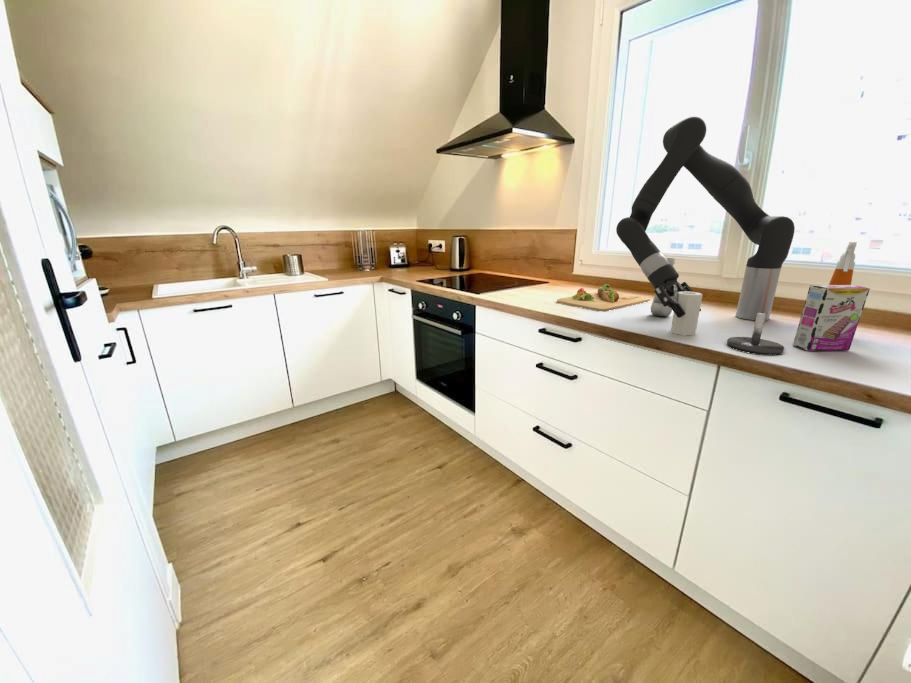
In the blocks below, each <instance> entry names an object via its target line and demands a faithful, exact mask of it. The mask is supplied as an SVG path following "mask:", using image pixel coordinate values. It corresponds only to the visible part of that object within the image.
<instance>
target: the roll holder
mask: <svg viewBox="0 0 911 683" xmlns="http://www.w3.org/2000/svg"><path fill="white" fill-rule="evenodd" d="M765 317H766V314H765V313H757V317H756V320H755V322H754V326H753V331H752V335H751V337H749V336H732V337H728V338H727V339H726V343H727V345H728V346H727V345H726V346H727V347H729V348H730V347H731V349H733V348H734V349H733V350H735V349H737V350H736V351H739V350H740V351H739V352H742V351H744V352H743V353H747V352H749V353H748V354H752V353H755V354H754V355H760V354H763V355H762V356H779V354H780V355H782V354H784V350H785V346H784V345H783V344H781V343H778V342H775V341H772V340H768V339H763V338H762V334H763V329H764V325H765V321H766V320H765Z"/></svg>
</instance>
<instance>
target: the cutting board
mask: <svg viewBox="0 0 911 683" xmlns="http://www.w3.org/2000/svg"><path fill="white" fill-rule="evenodd" d="M648 301H651V298H650V297H647V296H642V295H637V294H636V295H635V294H628V293H621V292H617V291H616V290H614V289H612V287H611V285H610V284H607V283H605V284H603V285H601V286H600V287H599V288H598V289H597V291H596V292H587V291H586V290H585V289H584V288H583V287H581V288H579V289H577V291H576V294H575V295H572V296H567V297H561V298H558V299H556V304H559V303H563V304H562V305H564V304H567V305H566V306H569V305H572V306H571V307H574V306H577V307H576V308H579V307H582V308H581V309H584V308H586V310H589V309H591V311H594V310H596V311H595V312H599V311H602V312H610V311H609V310H611V311H614V309H615V310H619V309H623V308H627V306H628V307H632V305H633V306H636V304H637V305H640V303H641V304H645V303H644V302H646V303H649V302H648Z"/></svg>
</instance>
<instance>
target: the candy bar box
mask: <svg viewBox="0 0 911 683" xmlns="http://www.w3.org/2000/svg"><path fill="white" fill-rule="evenodd" d="M870 290H871V288H869V287H865V286H859V285H853V284H851V285H829V284H814V285H813V284H811V285H809V289H808V292H807V295H806V298H805V302H804V305H803V308H802V309H803V310H802V312H801V316H800V318H799V319H800V320H799V322H798V327H797V329H796V333H795V337H794V339H793V340H794V341H793V344H792V346H793V347H795V348H798V349H801V350H803V351H806V352H838V351H839V352H840V351H842V352H843V351H847V352H849V351H850V349H851V346H852V343H853V340H854V338H855V334H856V331H857V328H858V326H859V323H860V319H861V316H862V313H863V311H864V308H865V304H866V303H867V302H866V301H867V299H868V296H869V293H870Z"/></svg>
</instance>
